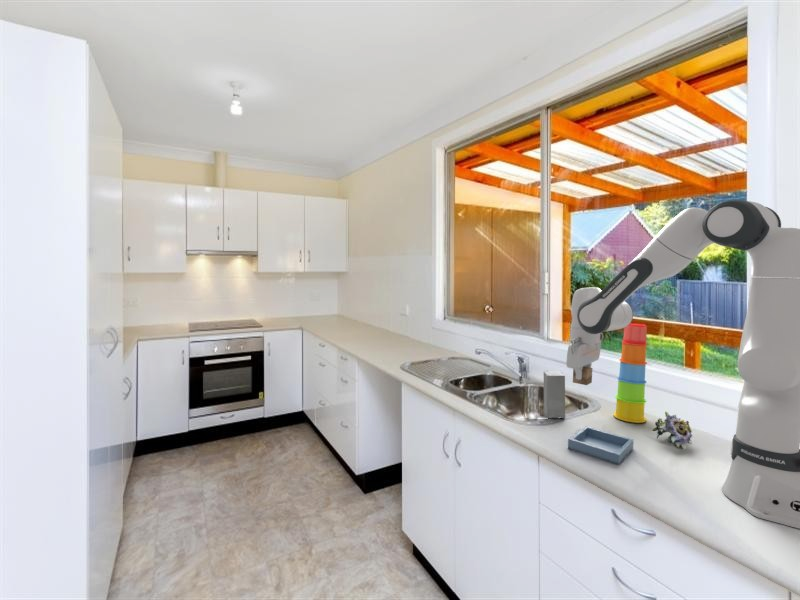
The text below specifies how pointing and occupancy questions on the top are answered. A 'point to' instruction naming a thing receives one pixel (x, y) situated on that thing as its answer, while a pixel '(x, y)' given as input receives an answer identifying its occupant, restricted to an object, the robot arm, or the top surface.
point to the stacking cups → (632, 375)
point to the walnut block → (584, 376)
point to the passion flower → (675, 430)
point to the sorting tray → (601, 445)
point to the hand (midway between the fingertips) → (582, 377)
